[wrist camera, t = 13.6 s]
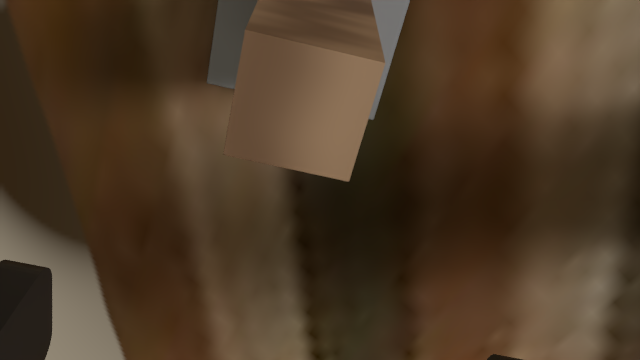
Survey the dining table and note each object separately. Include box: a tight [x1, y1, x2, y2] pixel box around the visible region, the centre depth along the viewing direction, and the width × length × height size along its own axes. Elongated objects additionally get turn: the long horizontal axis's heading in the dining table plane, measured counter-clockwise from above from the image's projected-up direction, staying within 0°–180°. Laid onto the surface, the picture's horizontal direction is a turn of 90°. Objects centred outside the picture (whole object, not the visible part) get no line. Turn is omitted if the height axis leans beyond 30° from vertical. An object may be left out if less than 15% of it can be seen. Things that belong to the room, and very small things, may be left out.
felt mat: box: [207, 0, 410, 120], centre depth 29 cm, size 9×9×1 cm
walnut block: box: [223, 0, 385, 182], centre depth 24 cm, size 4×4×11 cm
